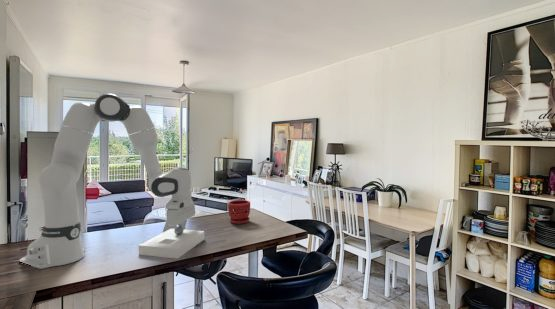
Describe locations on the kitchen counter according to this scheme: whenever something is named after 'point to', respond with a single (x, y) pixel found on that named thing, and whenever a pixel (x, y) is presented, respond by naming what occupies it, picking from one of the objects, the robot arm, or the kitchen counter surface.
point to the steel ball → (178, 230)
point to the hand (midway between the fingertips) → (182, 230)
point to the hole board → (171, 243)
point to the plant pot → (239, 211)
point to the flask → (168, 227)
